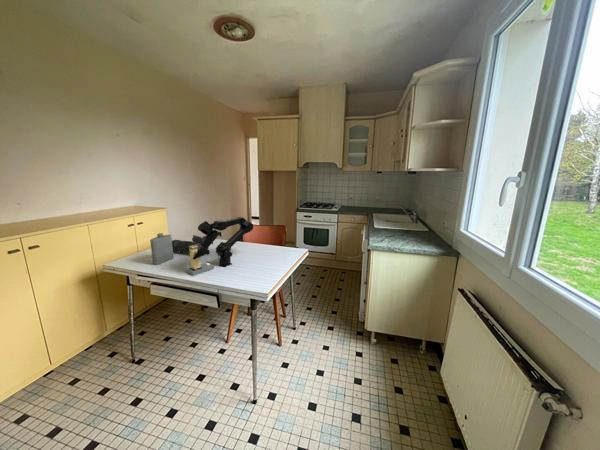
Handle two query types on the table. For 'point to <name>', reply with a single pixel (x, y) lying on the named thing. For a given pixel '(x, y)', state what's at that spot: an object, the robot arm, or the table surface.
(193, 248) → the plug
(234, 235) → the robot arm
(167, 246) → the flask
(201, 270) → the bar
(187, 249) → the muzzle brake
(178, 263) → the table surface
